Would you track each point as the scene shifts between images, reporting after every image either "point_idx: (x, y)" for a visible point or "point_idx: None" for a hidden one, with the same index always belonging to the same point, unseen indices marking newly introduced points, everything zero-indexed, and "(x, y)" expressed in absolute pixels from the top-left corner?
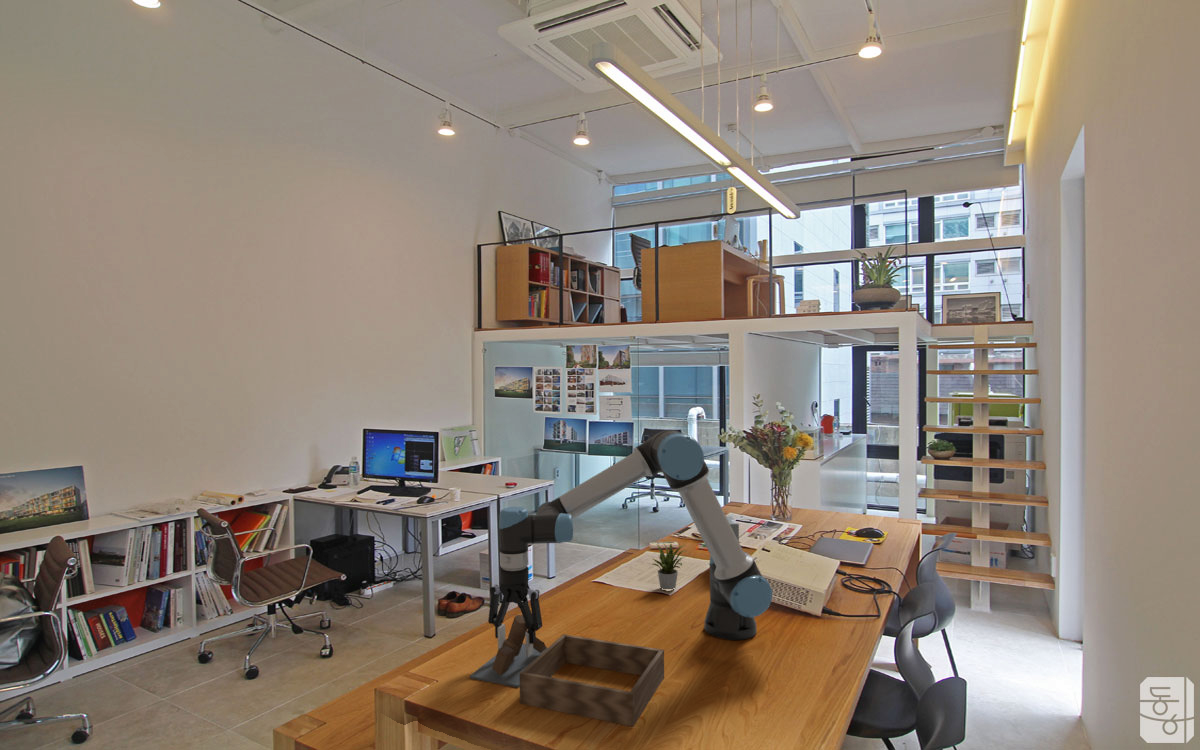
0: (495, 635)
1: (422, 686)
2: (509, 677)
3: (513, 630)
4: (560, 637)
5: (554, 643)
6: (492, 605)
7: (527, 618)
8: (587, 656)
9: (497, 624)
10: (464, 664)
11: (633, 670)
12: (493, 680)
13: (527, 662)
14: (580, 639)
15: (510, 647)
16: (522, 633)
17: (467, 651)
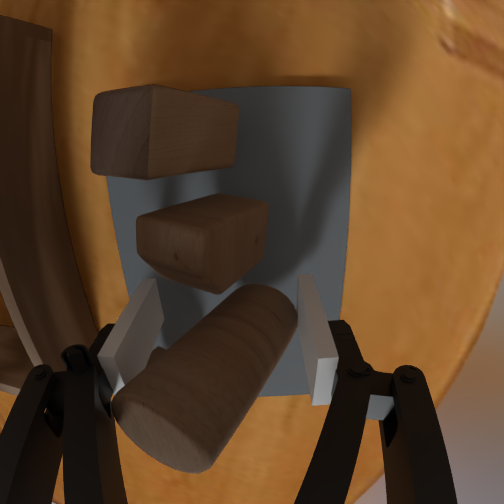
0: (349, 328)
1: (457, 4)
2: None
3: (206, 362)
4: None
5: (25, 337)
6: (430, 487)
7: (66, 428)
8: (19, 347)
9: (346, 375)
10: (428, 196)
11: None
12: (220, 89)
13: (181, 289)
14: (10, 383)
15: (150, 214)
16: (155, 361)
17: (452, 289)
